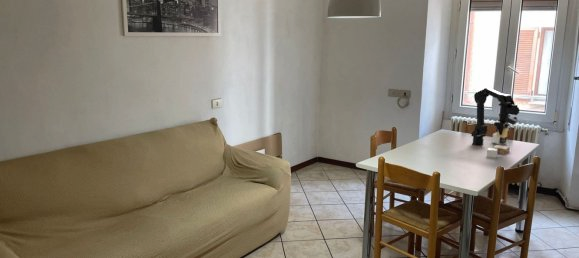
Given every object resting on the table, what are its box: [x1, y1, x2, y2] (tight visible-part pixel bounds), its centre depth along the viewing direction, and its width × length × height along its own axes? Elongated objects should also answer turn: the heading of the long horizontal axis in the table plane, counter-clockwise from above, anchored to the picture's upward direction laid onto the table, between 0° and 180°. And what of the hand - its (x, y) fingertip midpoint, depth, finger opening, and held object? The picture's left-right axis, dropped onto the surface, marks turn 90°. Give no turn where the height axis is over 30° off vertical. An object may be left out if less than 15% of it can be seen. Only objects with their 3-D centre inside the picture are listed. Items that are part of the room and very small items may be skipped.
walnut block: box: [491, 144, 511, 155], centre depth 325 cm, size 9×9×4 cm
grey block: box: [486, 147, 498, 159], centre depth 313 cm, size 6×6×5 cm
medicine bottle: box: [491, 127, 508, 146], centre depth 350 cm, size 7×7×12 cm
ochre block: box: [497, 127, 509, 138], centre depth 322 cm, size 5×5×6 cm
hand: (502, 134), depth 322 cm, fingers closed on ochre block, 5 cm apart
